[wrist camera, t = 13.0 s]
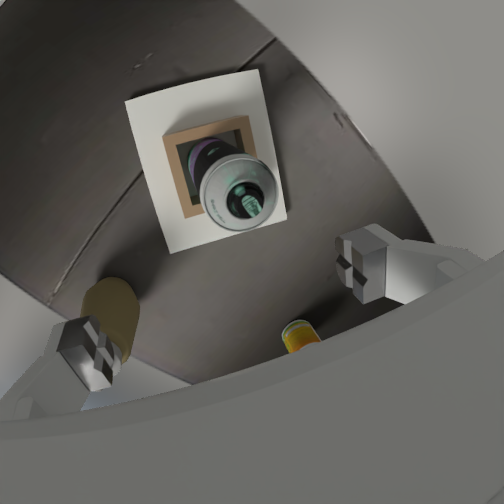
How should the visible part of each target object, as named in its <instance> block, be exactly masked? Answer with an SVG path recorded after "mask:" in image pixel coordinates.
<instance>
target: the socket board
mask: <svg viewBox="0 0 504 504" xmlns="http://www.w3.org/2000/svg"><path fill="white" fill-rule="evenodd" d="M125 104H126V108H127V112H128V116H129V120H130V124H131V128H132V131H133V135H134V139H135V142H136V146H137V150H138V153H139V157H140V160H141V164H142V167H143V171H144V174H145V177H146V181H147V184H148V187H149V190H150V194H151V197H152V200H153V203H154V206H155V210H156V213H157V216H158V219H159V222H160V225H161V228H162V231H163V234H164V237H165V240H166V243H167V246H168V249H169V251H170V254H172V253H175V252H178V251H182V250H185V249H188V248H192V247H195V246H198V245H202V244H205V243H208V242H212V241H215V240H218V239H222V238H225V237H228V236H232V235H235V234H239V233H242V232H231V231H227V230H224V229H222V228H220V227H219V226H217V225H216V224H214V223H213V221H211V219H210V218H209V217H208V216H207V215H206V213H205V211H204V210H203V207H202V205H201V202H200V199H199V196H198V194H197V191H196V188H195V185H194V183H193V180H192V177H191V174H190V171H189V168H188V165H187V156H188V153H189V150H190V149H191V147H192V146H193V145H194V144H195V143H196V142H197V141H199V140H201V139H204V138H209V137H212V138H218V139H220V140H222V141H224V142H226V143H228V144H230V145H232V146H234V147H236V148H238V149H240V150H242V151H244V152H246V153H248V154H250V155H251V156H253V157H255V158H257V159H259V160H261V161H262V162H263V163H264V164H266V165H267V166H268V168H269V169H270V170H271V172H272V173H273V174H274V176H275V178H276V180H277V184H278V189H279V197H278V202H277V205H276V208H275V210H274V212H273V214H272V215H271V216H270V218H269V219H268V220H267V221H266V222H265V223H263V224H262V225H261V226H259V227H263V226H266V225H270V224H273V223H276V222H280V221H283V220H287V215H286V209H285V204H284V198H283V192H282V187H281V181H280V176H279V170H278V165H277V160H276V154H275V149H274V144H273V139H272V134H271V129H270V124H269V119H268V114H267V109H266V104H265V99H264V94H263V90H262V85H261V80H260V75H259V71H258V69H255V70H249V71H243V72H238V73H233V74H227V75H222V76H217V77H213V78H208V79H204V80H199V81H195V82H191V83H187V84H183V85H179V86H175V87H172V88H168V89H164V90H161V91H157V92H154V93H150V94H147V95H144V96H141V97H137V98H134V99H131V100H128V101H125ZM259 227H257V228H259Z"/></svg>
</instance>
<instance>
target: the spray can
mask: <svg viewBox="0 0 504 504" xmlns="http://www.w3.org/2000/svg"><path fill="white" fill-rule="evenodd" d="M187 165H188V168H189V171H190V174H191V177H192V180H193V183H194V185H195V188H196V191H197V194H198V196H199V199H200V202H201V205H202V207H203V210H204V211H205V213H206V215H207V216H208V217H209V218H210V219H211V221H213V223H214V224H216V225H217V226H219V227H220V228H222V229H224V230H227V231H231V232H247V231H250V230H253V229H256V228H257V227H259V226H261V225H262V224H263V223H265V222H266V221H267V220H268V219H269V218H270V216H271V215H272V214H273V212H274V210H275V208H276V205H277V202H278V197H279V189H278V184H277V180H276V178H275V176H274V174H273V173H272V172H271V170H270V169H269V168H268V166H267V165H266V164H264V163H263V162H262V161H261V160H259V159H257V158H255V157H253V156H251V155H250V154H248V153H246V152H244V151H242V150H240V149H238V148H236V147H234V146H232V145H230V144H228V143H226V142H224V141H222V140H220V139H218V138H212V137H209V138H204V139H201V140H199V141H197V142H196V143H195V144H194V145H193V146H192V147H191V149H190V150H189V153H188V156H187Z"/></svg>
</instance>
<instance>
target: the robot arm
mask: <svg viewBox="0 0 504 504" xmlns="http://www.w3.org/2000/svg"><path fill="white" fill-rule="evenodd" d="M4 1H5V0H0V6H1V5H2V4H3V3H4ZM335 250H336V251H337V252H338V253H339V256H338V258H337V260H336V264H337V271H338V274H339V277H340V279H341V280H342V282H343V283H344V284H345V285H346V286H347V287H351V288H353V294H354V295H355V296H356V297H357V298H358V299H359V300H360V301H361V302H362V303H363V304H365V303H368V302H370V301H373V300H375V299H378V298H380V297H383V296H385V297H388V298H390V299H393V300H396V301H398V302H401V303H404V304H405V305H403V306H401V307H399V308H397V309H395V310H392V311H390V312H388V313H386V314H384V315H382V316H380V317H377V318H375V319H373V320H371V321H368V322H366V323H364V324H362V325H359V326H357V327H355V328H352V329H350V330H348V331H345V332H343V333H341V334H338V335H336V336H333V337H331V338H329V339H326V340H324V341H321V342H319V343H316V344H314V345H311V346H308V347H306V348H303V349H301V350H298V351H295V352H293V353H290V354H287V355H284V356H282V357H279V358H276V359H273V360H271V361H268V362H265V363H262V364H259V365H256V366H253V367H250V368H247V369H244V370H241V371H238V372H235V373H232V374H228V375H225V376H222V377H219V378H216V379H212V380H209V381H205V382H202V383H199V384H195V385H192V386H188V387H184V388H181V389H177V390H173V391H170V392H166V393H162V394H158V395H154V396H150V397H146V398H141V399H137V400H133V401H128V402H124V403H119V404H114V405H109V406H104V407H99V408H94V409H89V410H83V411H80V410H81V408H82V407H83V405H84V403H85V401H86V399H87V398H88V396H89V394H90V392H91V391H95V390H99V389H103V388H107V387H111V386H112V377H113V370H112V369H111V367H110V366H111V365H112V363H113V362H114V350H113V346H112V343H111V341H110V339H109V337H108V336H107V334H105V333H103V332H102V331H100V325H101V324H100V322H99V321H98V319H97V317H96V316H95V315H93V314H91V315H87V316H84V317H80V318H76V319H73V320H69V321H65V322H62V323H59V324H57V325H54V326H53V329H52V332H51V334H50V337H49V340H48V343H47V346H46V348H45V351H44V355H43V356H40V357H39V358H38V359H37V360H36V361H35V362H34V363H33V364H32V365H31V366H30V367H29V369H28V370H27V371H26V372H25V373H24V374H23V375H22V376H21V377H20V378H19V379H18V380H17V382H16V383H15V384H14V385H13V386H12V387H11V388H10V389H9V391H7V393H6V394H5V395H4V396H3V397H2V398H1V400H0V504H504V251H502V252H500V253H499V254H497V255H495V256H494V257H492V258H491V259H489V260H487V261H484V260H483V259H481V258H480V257H478V256H477V255H475V254H473V253H472V252H470V251H468V250H467V249H463V248H457V247H451V246H444V245H438V244H432V243H426V242H420V241H413V240H407V239H406V240H403V241H402V240H401V239H399V238H398V237H396V236H395V235H393V234H392V233H390V232H388V231H387V230H385V229H384V228H382V227H381V226H379V225H377V224H371V225H368V226H366V227H363V228H360V229H357V230H355V231H352V232H349V233H346V234H344V235H341V236H338V237H336V238H335Z"/></svg>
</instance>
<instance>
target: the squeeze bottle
mask: <svg viewBox="0 0 504 504" xmlns="http://www.w3.org/2000/svg"><path fill="white" fill-rule="evenodd" d="M91 314H93V315H95V316H96V317H97V319H98V321H99V322H100V324H101V325H100V331H102V332H103V333H105V334H107V336H108V337H109V339H110V341H111V343H112V346H113V350H114V362H113V363H112V365H111V366H110V367H111V369H112V370H113V376H114V375H115V374H118V373H119V371H120V369H121V365H122V364H123V363H124V362H126V361H127V359H128V357H129V356H130V354H131V349H132V345H133V341H134V336H135V332H136V328H137V324H138V320H139V314H140V305H139V303H138V300H137V298H136V296H135V294H134V292H133V290H132V288H131V286H130V285H129V284H128V283H127V282H126V281H124V280H122V279H120V278H118V277H107V278H103V279H102V280H101V281H99V282H98V283H96V284H95V285H94V286H93V287H91V288H90V289H89V290H88V291H87V292H86V294H85V296H84V299H83V303H82V308H81V314H80V317H84V316H87V315H91ZM102 390H103V389H99V390H95V391H97V392H100V391H102Z"/></svg>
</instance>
